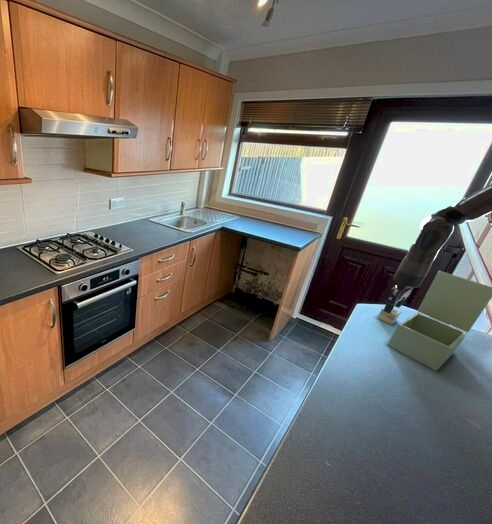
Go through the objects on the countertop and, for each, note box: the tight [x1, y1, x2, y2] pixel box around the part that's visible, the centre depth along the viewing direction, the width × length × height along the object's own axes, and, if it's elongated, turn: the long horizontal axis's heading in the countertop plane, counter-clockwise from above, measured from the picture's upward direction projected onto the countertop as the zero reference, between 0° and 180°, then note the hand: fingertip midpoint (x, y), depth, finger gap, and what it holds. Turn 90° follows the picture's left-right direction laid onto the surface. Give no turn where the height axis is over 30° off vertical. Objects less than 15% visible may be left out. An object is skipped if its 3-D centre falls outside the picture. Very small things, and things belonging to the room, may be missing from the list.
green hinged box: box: [386, 311, 468, 372], centre depth 91 cm, size 16×13×9 cm
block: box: [377, 307, 402, 325], centre depth 107 cm, size 4×4×4 cm
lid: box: [417, 270, 492, 333], centre depth 89 cm, size 16×13×6 cm
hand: (391, 309), depth 105 cm, fingers open, 8 cm apart
